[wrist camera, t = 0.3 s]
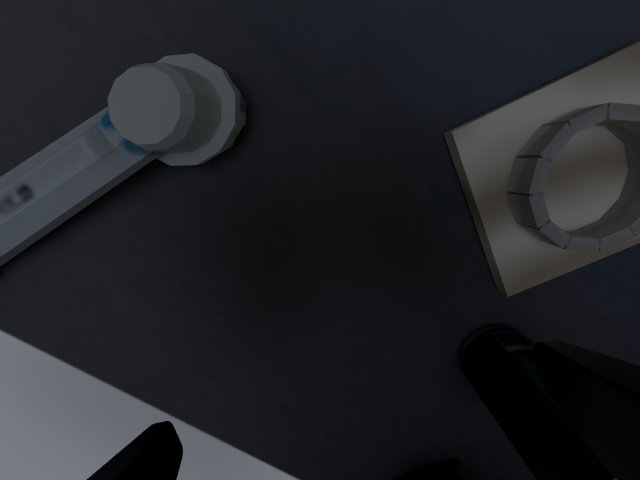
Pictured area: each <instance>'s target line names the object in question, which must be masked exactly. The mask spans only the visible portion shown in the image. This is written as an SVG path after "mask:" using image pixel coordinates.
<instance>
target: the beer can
mask: <svg viewBox="0 0 640 480" xmlns="http://www.w3.org/2000/svg"><path fill="white" fill-rule="evenodd" d="M534 346H535V344H534V343H533V342H532V341H531V340H529V339H528V338H527V337H526V336H524V335H523V334H522V333H520V332H519V331H517V330H513V329H510V328H506V327H502V326H490V327H486V328H483V329H480V330H479V331H477V332H475V333H474V334H472V335H471V336H470V337H469V338H468V339H467V340H466V342H465V344H464V346H463V348H462V351H461V366H462V370H463V373H464V375H465V376H466V378H467V379H468V381H469V382H470V384H471V385H472V386H473V388H474V389H475V391H476V392H477V394H478V395H479V397H480V398H481V399H482V401H483V402H484V404H485V405H486V407H487V408H488V410H489V411H490V413H491V414H492V415H493V417H494V418H495V420H496V421H497V423H498V424H499V426H500V427H501V428H502V430H503V431H504V433H505V434H506V436H507V437H508V439H509V440H510V442H511V443H512V444H513V446H514V447H515V449H516V450H517V452H518V453H519V455H520V456H521V458H522V459H523V460H524V462H525V463H526V465H527V466H528V468H529V469H530V471H531V472H532V473H533V475H534V476H535V478H536V479H537V480H617V479H616V478H615V477H614V476H613V475H612V473H611V472H610V471H609V470H608V469H607V468H606V467H605V465H604V464H603V463H602V462H601V461H600V460H599V458H598V457H597V456H596V455H595V454H594V453H593V451H592V450H591V449H590V447H589V446H588V445H587V444H586V442H585V441H584V440H583V438H582V437H581V436H580V434H579V433H578V432H577V430H576V429H575V428H574V426H573V425H572V424H571V422H570V421H569V420H568V418H567V417H566V416H565V414H564V413H563V412H562V410H561V409H560V408H559V406H558V405H557V404H556V402H555V401H554V400H553V398H552V397H551V396H550V394H549V393H548V392H547V390H546V389H545V387H544V386H543V385H542V383H541V382H540V380H539V378H538V376H537V372H536V363H535V351H534Z"/></svg>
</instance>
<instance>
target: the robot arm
mask: <svg viewBox="0 0 640 480" xmlns="http://www.w3.org/2000/svg"><path fill="white" fill-rule="evenodd" d="M534 351H535V363H536V372H537V376H538V378H539V380H540V382H541V383H542V385H543V386H544V387H545V389H546V390H547V392H548V393H549V394H550V396H551V397H552V398H553V400H554V401H555V402H556V404H557V405H558V406H559V408H560V409H561V410H562V412H563V413H564V414H565V416H566V417H567V418H568V420H569V421H570V422H571V424H572V425H573V426H574V428H575V429H576V430H577V432H578V433H579V434H580V436H581V437H582V438H583V440H584V441H585V442H586V444H587V445H588V446H589V447H590V449H591V450H592V451H593V453H594V454H595V455H596V456H597V457H598V458H599V460H600V461H601V462H602V463H603V464H604V465H605V467H606V468H607V469H608V470H609V471H610V472H611V473H612V475H613V476H614V477H615V478H616V479H617V480H640V366H639V365H636V364H633V363H629V362H626V361H623V360H620V359H617V358H614V357H611V356H608V355H604V354H601V353H598V352H595V351H592V350H589V349H586V348H583V347H580V346H576V345H573V344H570V343H567V342H564V341H561V340H558V339H548V340H544V341H539V342H537V343H536V344H535V346H534ZM182 455H183V447H182V444H181V442H180V439H179V437H178V435H177V433H176V431H175V428H174V426H173V424H172V423H171V422H169V421H164V422H160V423H155V424H153V425H151V426H150V427H148V428H147V429H146V430H145V431H144V432H142V433H141V434H140V435H139V436H138V437H137V438H135V439H134V440H133V441H132V442H131V443H129V444H128V445H127V446H126V447H125V448H124V449H122V450H121V451H120V452H119V453H118V454H117V455H115V456H114V457H113V458H112V459H111V460H109V461H108V462H107V463H106V464H105V465H103V466H102V467H101V468H100V469H99V470H97V471H96V472H95V473H94V474H93V475H92V476H91V477H89V478H88V479H87V480H176V479H177V475H178V472H179V468H180V464H181V460H182ZM399 480H468V478H467V476H466V474H465V472H464V470H463V468H462V465H461V463H460V462H459V461H458V460H452V461H450V462H447V463H444V464H441V465H438V466H436V467H433V468H430V469H427V470H424V471H421V472H419V473H416V474H413V475H410V476H407V477H405V478H402V479H399Z"/></svg>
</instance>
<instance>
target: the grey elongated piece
mask: <svg viewBox="0 0 640 480" xmlns="http://www.w3.org/2000/svg"><path fill="white" fill-rule="evenodd" d="M245 118H246V103H245V101H244V99H243V97H242V95H241V94H240V92H239V90H238V88H237V86H236V84H234V83H233V82H232V81H231V79H230V77H229V75H228V73H227V72H226V71H225V70H224V69H222V68H220V67H218V66H216V65H215V64H213V63H211V62H209V61H207V60H205V59H204V58H202V57H200V56H198V55H196V54H183V55H171V56H164V57H163V58H162V59H160V60H159V61H158V62H156V63H148V64H139V65H136V66H134V67H131V68H130V69H128V70H127V71H126V72H125V73H123V74H122V75H121V76H119V77H118V78H117V79H116V80H115V81H114V84H113V87H112V89H111V92H110V94H109V97H108V107H106V108H105V109H103V110H102V111H100V112H99V113H97V114H96V115H94V116H93V117H91V118H90V119H88V120H87V121H85V122H84V123H82V124H80V125H79V126H77V127H76V128H74V129H73V130H71V131H70V132H68V133H67V134H65V135H64V136H62V137H61V138H59V139H58V140H56V141H55V142H53V143H52V144H50V145H49V146H47V147H46V148H44V149H43V150H41V151H40V152H38V153H37V154H35V155H34V156H32V157H31V158H29V159H27V160H26V161H24V162H23V163H21V164H20V165H18V166H17V167H15V168H14V169H12V170H11V171H9V172H8V173H6V174H5V175H3V176H2V177H0V266H2V265H3V264H5V263H6V262H7V261H9V260H10V259H12V258H13V257H15V256H16V255H17V254H19V253H20V252H22V251H23V250H25V249H26V248H28V247H29V246H30V245H32V244H33V243H35V242H36V241H38V240H39V239H40V238H42V237H43V236H45V235H46V234H48V233H49V232H50V231H52V230H53V229H55V228H56V227H58V226H59V225H60V224H62V223H63V222H65V221H66V220H68V219H69V218H71V217H72V216H73V215H75V214H76V213H78V212H79V211H81V210H82V209H83V208H85V207H86V206H88V205H89V204H91V203H92V202H93V201H95V200H96V199H98V198H99V197H101V196H102V195H103V194H105V193H106V192H108V191H109V190H111V189H112V188H114V187H115V186H116V185H118V184H119V183H121V182H122V181H124V180H125V179H126V178H128V177H129V176H131V175H132V174H134V173H135V172H136V171H138V170H139V169H141V168H142V167H144V166H145V165H146V164H148V163H149V162H151V161H152V160H154V159H155V158H157V159H158V160H160V161H162V162H164V163H166V164H168V165H170V166H178V165H199V164H203V163H205V162H207V161H208V160H210V159H212V158H213V157H215V156H217V155H219V154H220V153H222V152H224V151H225V150H227V149H228V148H230V147H232V146H233V145H234V144H233V143H234V141H235V139H236V137H237V136H238V134H239V132H240V130H241V129H242V127H243V126H245Z"/></svg>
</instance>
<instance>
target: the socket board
mask: <svg viewBox="0 0 640 480" xmlns="http://www.w3.org/2000/svg"><path fill="white" fill-rule="evenodd" d="M444 136H445V139H446V142H447V145H448V148H449V151H450V154H451V157H452V160H453V162H454V165H455V168H456V171H457V174H458V177H459V180H460V183H461V186H462V188H463V191H464V194H465V197H466V200H467V203H468V206H469V209H470V212H471V214H472V217H473V220H474V223H475V226H476V229H477V232H478V235H479V238H480V240H481V243H482V246H483V249H484V252H485V255H486V258H487V261H488V264H489V266H490V269H491V272H492V275H493V278H494V281H495V284H496V287H497V290H499V291H500V292H501V293H503V294H504V295H506V296H507V297H509V296H511V295H514V294H516V293H519V292H521V291H524V290H526V289H528V288H531V287H533V286H536V285H538V284H541V283H543V282H546V281H548V280H550V279H553V278H555V277H558V276H560V275H563V274H565V273H568V272H570V271H572V270H575V269H577V268H580V267H582V266H585V265H587V264H590V263H592V262H594V261H597V260H599V259H602V258H604V257H607V256H609V255H612V254H614V253H616V252H619V251H621V250H624V249H626V248H629V247H631V246H634V245H636V244H638V243H640V40H638V41H636V42H633V43H631V44H629V45H627V46H625V47H623V48H621V49H619V50H617V51H615V52H613V53H610V54H608V55H606V56H604V57H602V58H600V59H598V60H596V61H594V62H592V63H590V64H588V65H585V66H583V67H581V68H579V69H577V70H575V71H573V72H571V73H569V74H567V75H565V76H563V77H560V78H558V79H556V80H554V81H552V82H550V83H548V84H546V85H544V86H542V87H540V88H538V89H536V90H533V91H531V92H529V93H527V94H525V95H523V96H521V97H519V98H517V99H515V100H513V101H511V102H508V103H506V104H504V105H502V106H500V107H498V108H496V109H494V110H492V111H490V112H488V113H486V114H483V115H481V116H479V117H477V118H475V119H473V120H471V121H469V122H467V123H465V124H463V125H461V126H459V127H456V128H454V129H452V130H450V131H448V132H446V133H444Z"/></svg>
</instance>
